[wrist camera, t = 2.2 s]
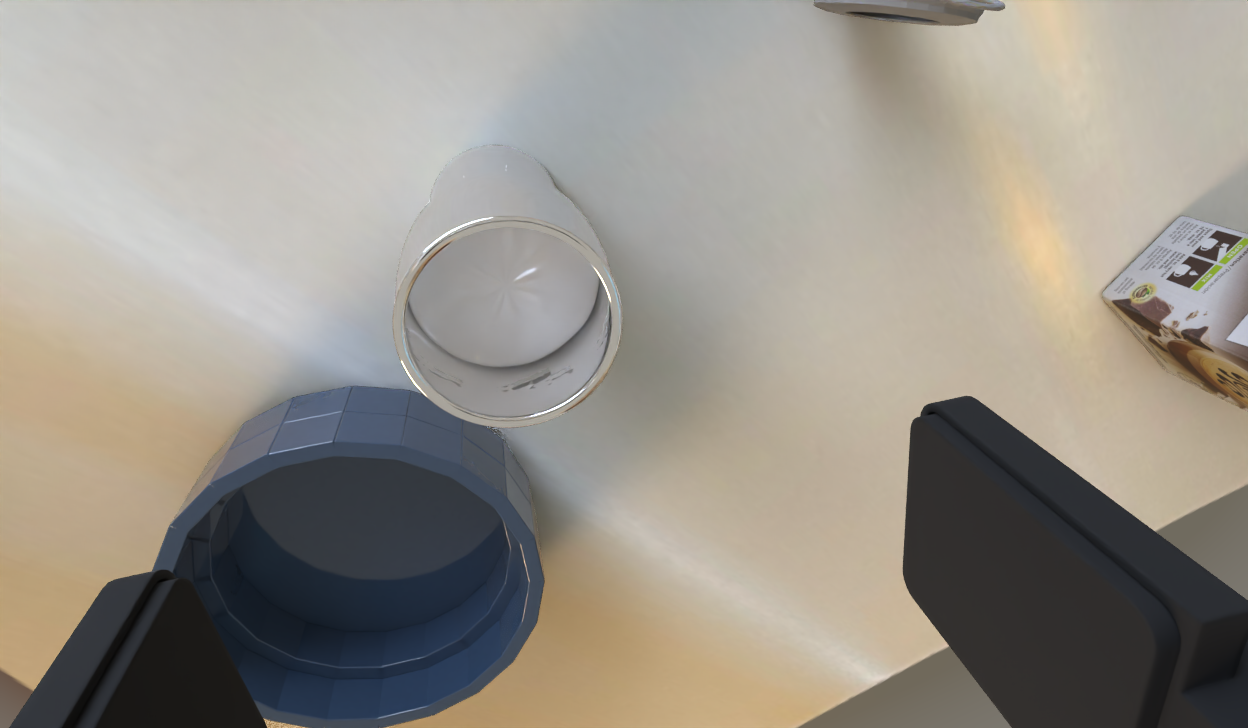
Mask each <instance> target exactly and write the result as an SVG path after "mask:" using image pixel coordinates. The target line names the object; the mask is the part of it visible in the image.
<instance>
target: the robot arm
mask: <svg viewBox="0 0 1248 728" xmlns="http://www.w3.org/2000/svg"><path fill="white" fill-rule="evenodd" d="M903 576H904V580H905V583H906V586H907V589H908V591H909V593H910V594H911V596H912V598H913V599H914V600H915V602H916V603H917V604H918V605H919V607H920V608H921V609H922V611H923V612H924V613H925V615H926V616H927V617H928V619H929V620H930V621H931V623H932V624H933V625H934V626H935V628H936V629H937V630H938V632H939V633H940V634H941V636H942V637H943V638H944V640H945V641H946V642H947V643H948V645H949V646H950V647H951V649H952V650H953V651H954V653H955V654H956V655H957V657H958V658H959V659H960V660H961V662H962V663H963V664H964V665H965V667H966V668H967V670H968V671H969V672H970V674H971V675H972V676H973V677H974V679H975V680H976V681H977V683H978V684H979V685H980V687H981V688H982V689H983V691H984V692H985V693H986V694H987V696H988V697H989V698H990V699H991V701H992V702H993V703H994V705H995V706H996V707H997V709H998V710H999V711H1000V713H1001V714H1002V715H1003V717H1004V718H1005V719H1006V721H1007V722H1008V723H1009V724H1010V726H1011V727H1012V728H1248V600H1246V599H1245V598H1244V597H1242V596H1241V595H1240V594H1238V593H1237V592H1236V591H1234V590H1233V589H1232V588H1230V587H1229V586H1228V585H1226V584H1225V583H1223V582H1222V581H1221V580H1219V579H1218V578H1217V577H1215V576H1214V575H1213V574H1211V573H1210V572H1209V571H1207V570H1206V569H1205V568H1203V567H1202V566H1201V565H1199V564H1198V563H1197V562H1195V561H1194V560H1192V559H1191V558H1190V557H1188V556H1187V555H1186V554H1184V553H1183V552H1182V551H1180V550H1179V549H1178V548H1176V547H1175V546H1174V545H1172V544H1171V543H1170V542H1168V541H1167V540H1166V539H1164V538H1163V537H1162V536H1160V535H1159V534H1157V533H1156V532H1155V531H1153V530H1152V529H1151V528H1149V527H1148V526H1147V525H1145V524H1144V523H1143V522H1141V521H1140V520H1139V519H1137V518H1136V517H1135V516H1133V515H1132V514H1131V513H1129V512H1128V511H1126V510H1125V509H1124V508H1122V507H1121V506H1120V505H1118V504H1117V503H1116V502H1114V501H1113V500H1112V499H1110V498H1109V497H1108V496H1106V495H1105V494H1104V493H1102V492H1101V491H1100V490H1098V489H1097V488H1095V487H1094V486H1093V485H1091V484H1090V483H1089V482H1087V481H1086V480H1085V479H1083V478H1082V477H1081V476H1079V475H1078V474H1077V473H1075V472H1074V471H1073V470H1071V469H1070V468H1069V467H1067V466H1066V465H1064V464H1063V463H1062V462H1060V461H1059V460H1058V459H1056V458H1055V457H1054V456H1052V455H1051V454H1050V453H1048V452H1047V451H1046V450H1044V449H1043V448H1042V447H1040V446H1039V445H1038V444H1036V443H1035V442H1033V441H1032V440H1031V439H1029V438H1028V437H1027V436H1025V435H1024V434H1023V433H1021V432H1020V431H1019V430H1017V429H1016V428H1015V427H1013V426H1012V425H1011V424H1009V423H1008V422H1007V421H1005V420H1004V419H1002V418H1001V417H1000V416H998V415H997V414H996V413H994V412H993V411H992V410H990V409H989V408H988V407H986V406H985V405H984V404H982V403H981V402H980V401H978V400H977V399H975V398H973V397H971V396H963V397H959V398H954V399H949V400H945V401H940V402H935V403H931V404H928V405H926V406H924V408H923V410H922V412H921V416H920V417H917V418H915V419H914V420H913V422H912V424H911V431H910V449H909V467H908V485H907V502H906V520H905V538H904V556H903ZM9 728H267V726H266V724H265V721H264V719H263V717H262V716H261V714H260V712H259V710H258V708H257V706H256V704H255V702H254V700H253V698H252V696H251V695H250V693H249V691H248V689H247V687H246V685H245V683H244V681H243V679H242V677H241V675H240V673H239V672H238V670H237V668H236V666H235V664H234V662H233V660H232V658H231V656H230V654H229V652H228V651H227V649H226V647H225V645H224V643H223V641H222V639H221V637H220V635H219V633H218V631H217V629H216V628H215V626H214V624H213V622H212V620H211V618H210V616H209V614H208V612H207V610H206V608H205V607H204V605H203V603H202V601H201V599H200V597H199V595H198V593H197V591H196V589H195V587H194V586H193V584H192V583H191V581H190V580H188V579H187V578H182V577H181V578H176V576H175V575H174V574H173V573H172V572H170V571H169V570H164V569H161V570H156V571H152V572H147V573H143V574H138V575H133V576H129V577H124V578H119V579H115V580H113V581H111V582H108V583H107V585H106V586H105V587H104V588H103V589H102V590H101V592H100V593H99V595H98V596H97V598H96V599H95V601H94V602H93V604H92V605H91V607H90V608H89V610H88V611H87V613H86V614H85V616H84V617H83V619H82V620H81V622H80V623H79V624H78V626H77V627H76V629H75V630H74V632H73V633H72V635H71V636H70V638H69V639H68V641H67V642H66V644H65V645H64V647H63V648H62V650H61V651H60V653H59V654H58V656H57V657H56V659H55V660H54V662H53V663H52V665H51V666H50V668H49V669H48V671H47V672H46V674H45V675H44V677H43V678H42V680H41V681H40V683H39V684H38V686H37V687H36V689H35V690H34V692H33V693H32V694H31V696H30V698H29V699H28V701H27V702H26V704H25V705H24V706H23V708H22V709H21V711H20V712H19V714H18V715H17V717H16V719H15V720H14V721H13V723H12V724H11V726H10V727H9Z"/></svg>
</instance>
